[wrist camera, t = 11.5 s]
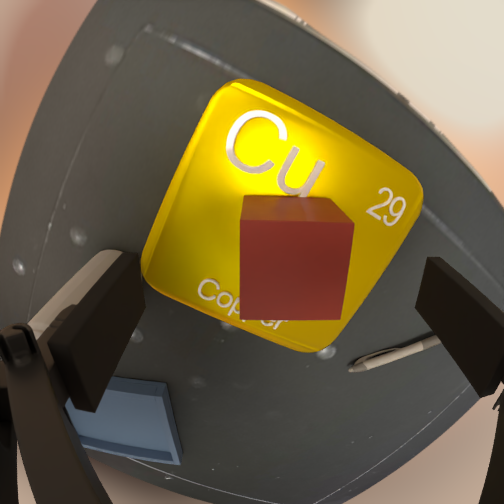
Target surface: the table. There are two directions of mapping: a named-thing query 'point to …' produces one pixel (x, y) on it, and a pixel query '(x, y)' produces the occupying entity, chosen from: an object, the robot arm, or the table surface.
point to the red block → (293, 258)
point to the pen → (392, 354)
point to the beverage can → (73, 290)
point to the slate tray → (131, 422)
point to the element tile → (273, 184)
